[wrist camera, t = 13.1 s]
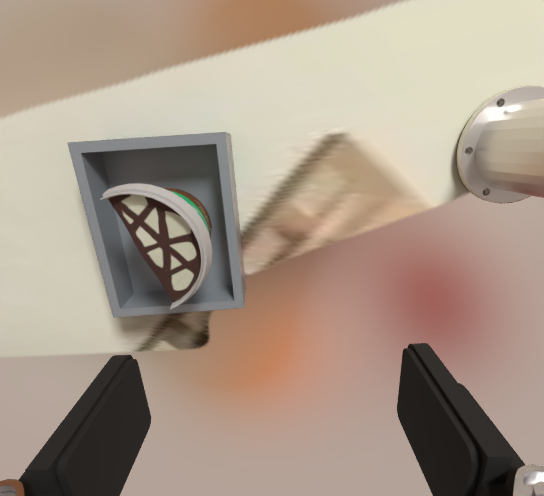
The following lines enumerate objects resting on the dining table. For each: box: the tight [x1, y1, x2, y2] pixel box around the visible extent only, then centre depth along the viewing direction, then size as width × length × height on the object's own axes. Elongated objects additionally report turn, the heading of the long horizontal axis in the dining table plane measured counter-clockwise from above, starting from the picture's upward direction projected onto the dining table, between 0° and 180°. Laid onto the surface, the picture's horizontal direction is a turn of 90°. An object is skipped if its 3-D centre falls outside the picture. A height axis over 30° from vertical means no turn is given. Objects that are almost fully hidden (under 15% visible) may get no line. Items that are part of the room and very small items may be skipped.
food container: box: [100, 183, 212, 310], centre depth 31 cm, size 12×6×10 cm, turn 24°
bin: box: [68, 132, 246, 318], centre depth 34 cm, size 15×19×5 cm
